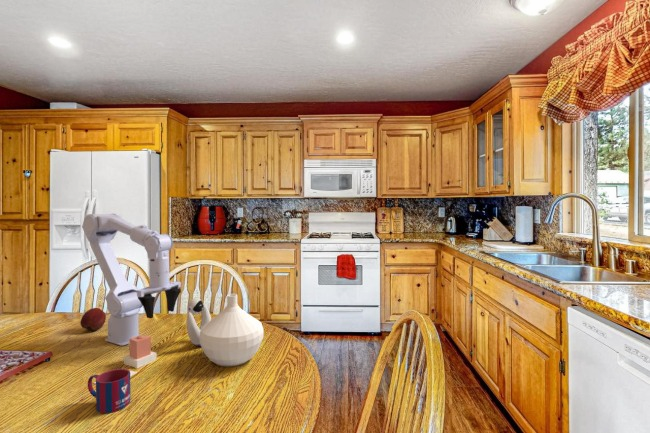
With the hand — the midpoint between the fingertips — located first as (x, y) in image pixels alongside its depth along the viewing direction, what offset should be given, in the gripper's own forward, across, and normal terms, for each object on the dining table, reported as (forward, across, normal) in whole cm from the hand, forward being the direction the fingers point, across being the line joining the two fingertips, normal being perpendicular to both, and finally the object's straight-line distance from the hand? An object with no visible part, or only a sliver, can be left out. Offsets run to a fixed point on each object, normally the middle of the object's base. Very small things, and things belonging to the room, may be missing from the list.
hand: (160, 314), depth 111 cm
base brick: (+11, -10, -4) cm, 15 cm away
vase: (+11, +4, -26) cm, 29 cm away
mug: (+11, -27, -17) cm, 34 cm away
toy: (+11, +7, -9) cm, 16 cm away
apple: (+10, -2, +34) cm, 35 cm away
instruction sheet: (+10, -19, -7) cm, 23 cm away
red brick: (+8, -10, -4) cm, 14 cm away
